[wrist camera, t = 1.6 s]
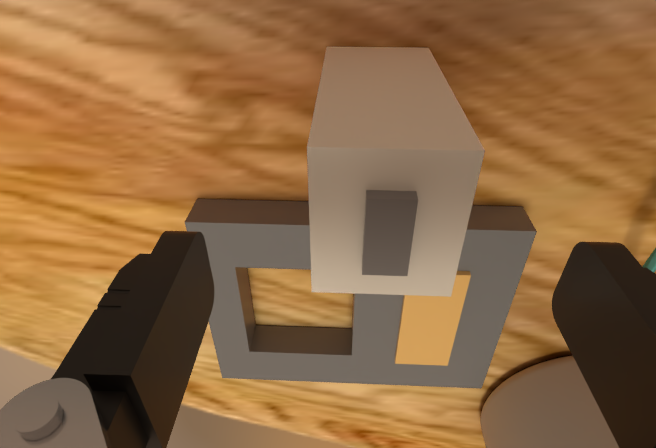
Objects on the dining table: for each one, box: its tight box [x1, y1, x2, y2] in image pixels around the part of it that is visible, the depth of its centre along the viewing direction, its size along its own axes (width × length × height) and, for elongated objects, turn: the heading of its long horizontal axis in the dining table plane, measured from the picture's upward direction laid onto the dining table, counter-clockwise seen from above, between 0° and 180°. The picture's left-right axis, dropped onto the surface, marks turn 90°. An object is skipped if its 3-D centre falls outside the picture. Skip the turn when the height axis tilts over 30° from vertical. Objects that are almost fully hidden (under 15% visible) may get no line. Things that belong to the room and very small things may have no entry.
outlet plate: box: [185, 199, 537, 388], centre depth 24 cm, size 16×12×2 cm
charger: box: [307, 47, 485, 297], centre depth 15 cm, size 4×5×9 cm
